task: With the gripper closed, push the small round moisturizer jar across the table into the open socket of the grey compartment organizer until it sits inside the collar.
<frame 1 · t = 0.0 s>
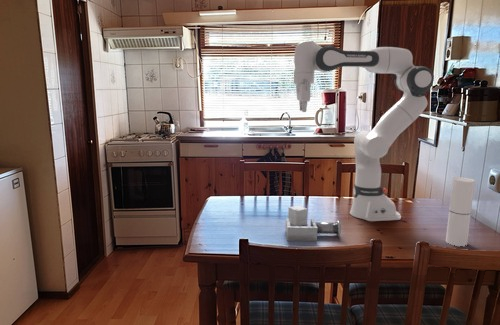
hand: (302, 111, 163), 48 cm above the table, tool pointing down, fingers open, 8 cm apart
skincare box: (297, 224, 160), on the table
grey compartment organizer: (300, 235, 147), on the table
cylindrical container: (456, 243, 140), on the table
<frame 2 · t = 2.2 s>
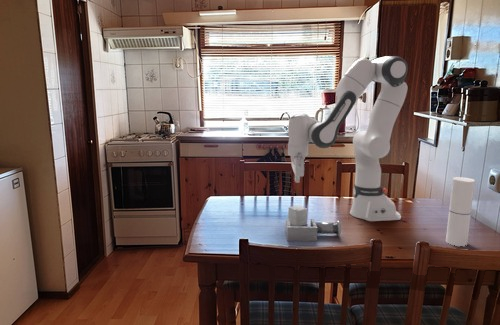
hand: (297, 181, 163), 17 cm above the table, tool pointing down, fingers closed
nothing on the table moved.
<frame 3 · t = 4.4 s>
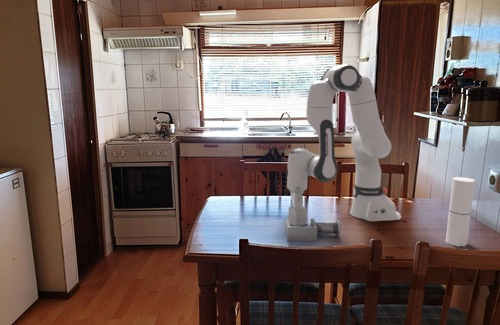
hand: (296, 214, 165), 2 cm above the table, tool pointing down, fingers closed
skincare box: (297, 224, 160), on the table, touching gripper
everything else where it was.
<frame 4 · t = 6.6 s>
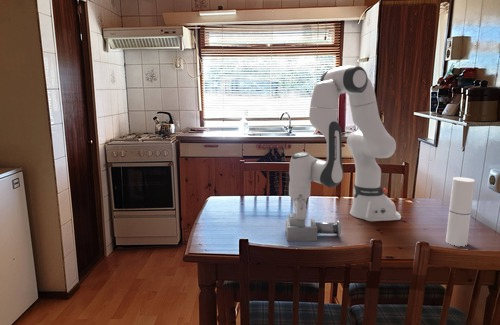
hand: (298, 223, 154), 2 cm above the table, tool pointing down, fingers closed
skincare box: (296, 233, 150), on the table, touching grey compartment organizer, gripper
everything else where it was.
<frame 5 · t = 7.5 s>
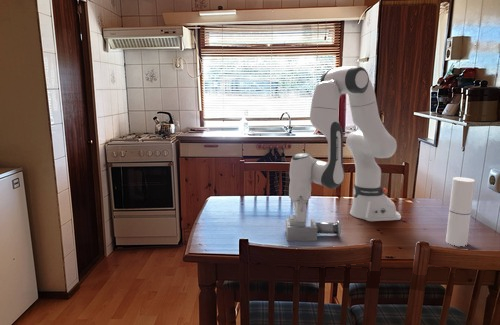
hand: (298, 225, 152), 2 cm above the table, tool pointing down, fingers closed
skincare box: (296, 235, 147), on the table, touching grey compartment organizer, gripper
everything else where it was.
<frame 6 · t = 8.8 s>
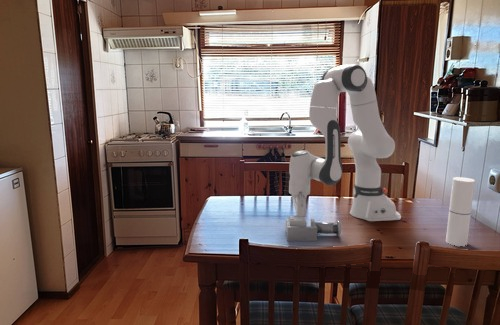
hand: (298, 220, 157), 2 cm above the table, tool pointing down, fingers closed
skincare box: (297, 235, 147), on the table
everything else where it was.
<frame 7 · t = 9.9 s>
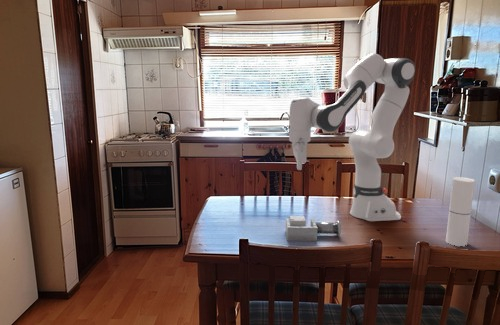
hand: (299, 169, 155), 24 cm above the table, tool pointing down, fingers closed
nothing on the table moved.
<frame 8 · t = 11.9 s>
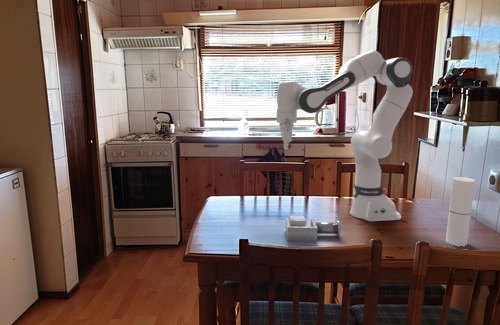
hand: (285, 149, 165), 31 cm above the table, tool pointing down, fingers closed
nothing on the table moved.
at the end: skincare box 1.4 cm off-centre on the grey compartment organizer, point 0.0 cm above the grey compartment organizer's base; skincare box tilted 0°; skincare box moved 12.9 cm from its start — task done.
